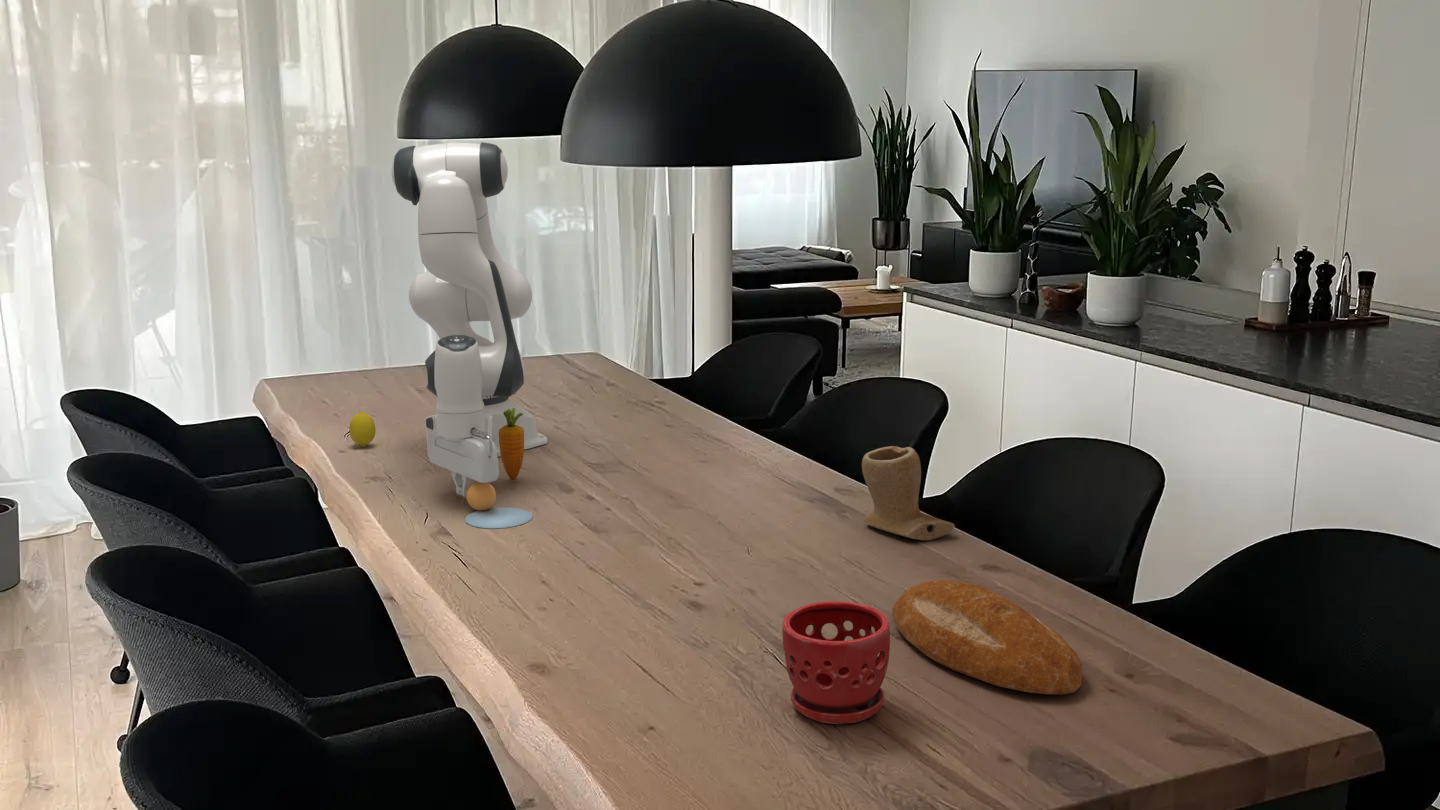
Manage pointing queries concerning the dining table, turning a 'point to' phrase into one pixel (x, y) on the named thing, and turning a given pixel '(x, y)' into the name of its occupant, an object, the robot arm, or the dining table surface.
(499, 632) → the dining table surface
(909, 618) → the bread
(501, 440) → the carrot
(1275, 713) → the dining table surface
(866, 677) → the plant pot
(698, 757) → the dining table surface
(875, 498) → the tan boot-shaped piece
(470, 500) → the ball
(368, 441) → the lemon
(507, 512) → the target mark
